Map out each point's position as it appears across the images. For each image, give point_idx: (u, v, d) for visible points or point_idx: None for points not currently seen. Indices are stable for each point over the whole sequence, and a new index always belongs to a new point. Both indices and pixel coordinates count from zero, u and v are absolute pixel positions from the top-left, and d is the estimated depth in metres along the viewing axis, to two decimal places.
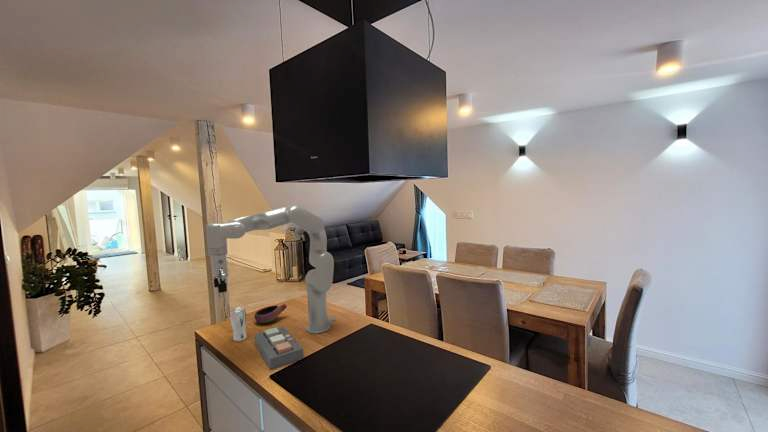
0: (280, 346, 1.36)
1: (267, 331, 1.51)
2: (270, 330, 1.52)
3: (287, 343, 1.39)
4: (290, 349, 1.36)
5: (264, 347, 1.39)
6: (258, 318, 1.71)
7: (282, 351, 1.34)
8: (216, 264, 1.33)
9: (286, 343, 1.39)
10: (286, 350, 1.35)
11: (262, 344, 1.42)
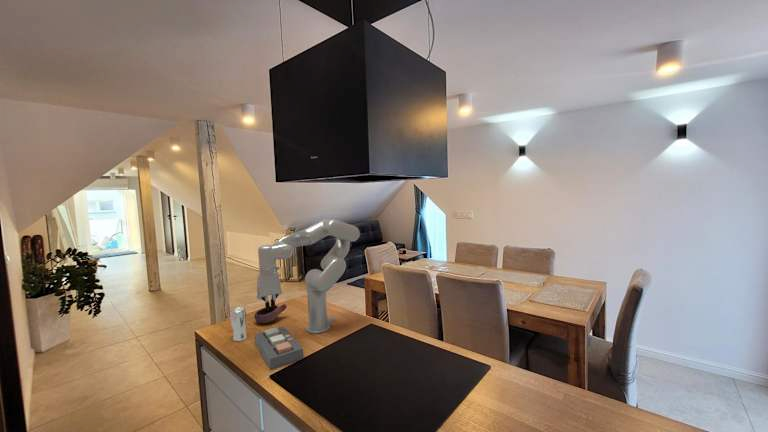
0: (280, 346, 1.36)
1: (267, 331, 1.51)
2: (270, 330, 1.52)
3: (287, 343, 1.39)
4: (290, 349, 1.36)
5: (264, 347, 1.39)
6: (258, 318, 1.71)
7: (282, 351, 1.34)
8: (279, 280, 1.51)
9: (286, 343, 1.39)
10: (286, 350, 1.35)
11: (262, 344, 1.42)
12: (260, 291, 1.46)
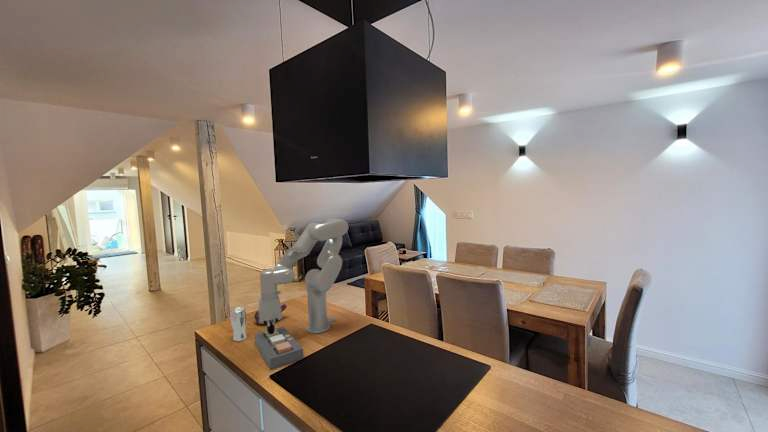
0: (280, 346, 1.36)
1: (267, 333, 1.51)
2: None
3: (287, 343, 1.39)
4: (290, 349, 1.36)
5: (264, 347, 1.39)
6: (258, 318, 1.71)
7: (282, 351, 1.34)
8: (280, 304, 1.52)
9: (286, 343, 1.39)
10: (286, 350, 1.35)
11: (262, 344, 1.42)
12: (261, 316, 1.47)
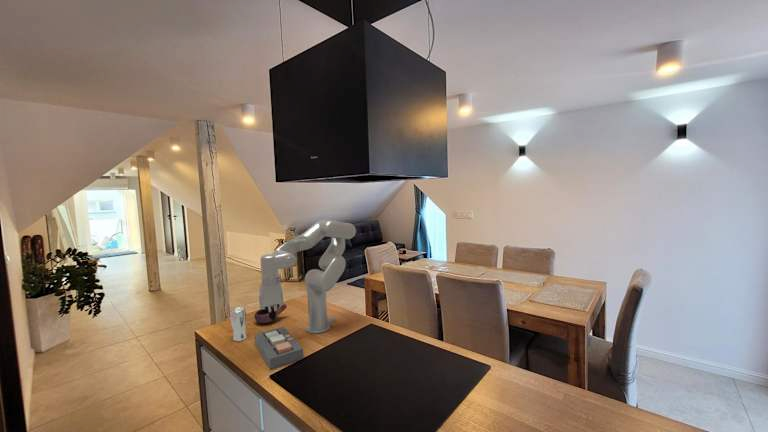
0: (280, 346, 1.36)
1: (267, 334, 1.52)
2: (270, 333, 1.52)
3: (287, 343, 1.39)
4: (290, 349, 1.36)
5: (264, 347, 1.39)
6: (258, 318, 1.71)
7: (282, 351, 1.34)
8: None
9: (286, 343, 1.39)
10: (286, 350, 1.35)
11: (262, 344, 1.42)
12: (262, 301, 1.43)
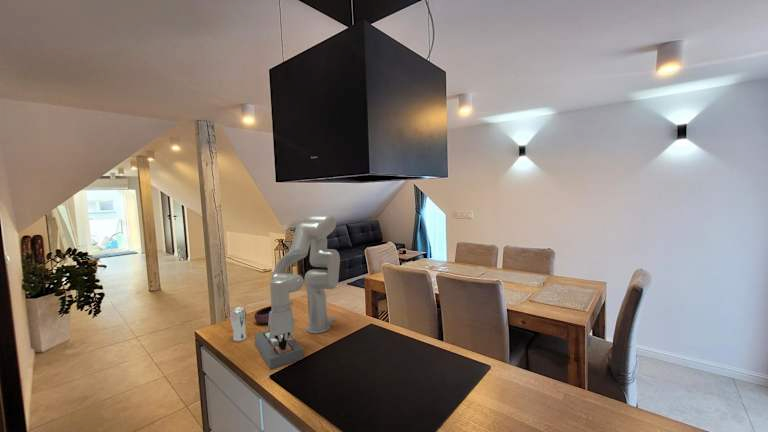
0: (280, 348, 1.37)
1: (267, 334, 1.52)
2: None
3: (287, 345, 1.39)
4: None
5: (264, 347, 1.39)
6: (258, 318, 1.71)
7: None
8: None
9: None
10: None
11: (262, 344, 1.42)
12: (272, 330, 1.32)
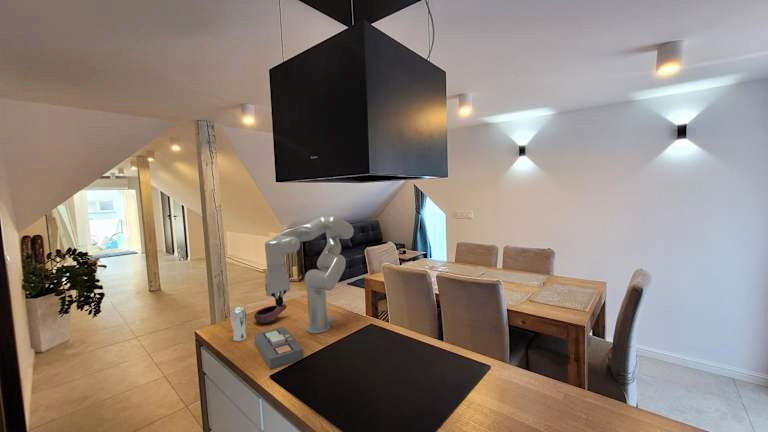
0: (280, 349, 1.37)
1: (267, 334, 1.52)
2: (270, 333, 1.52)
3: (287, 346, 1.39)
4: None
5: (264, 347, 1.39)
6: (258, 318, 1.71)
7: None
8: None
9: (286, 346, 1.39)
10: None
11: (262, 344, 1.42)
12: (269, 288, 1.39)
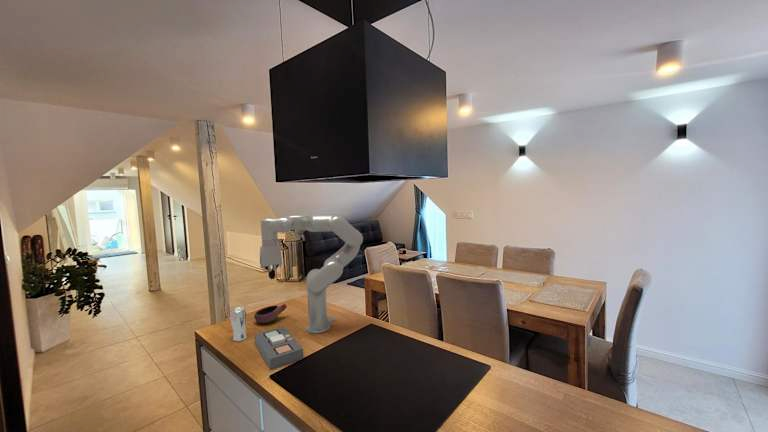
0: (280, 349, 1.37)
1: (267, 334, 1.52)
2: (270, 333, 1.52)
3: (287, 346, 1.39)
4: None
5: (264, 347, 1.39)
6: (258, 318, 1.71)
7: None
8: (280, 251, 1.60)
9: (286, 346, 1.39)
10: None
11: (262, 344, 1.42)
12: (262, 261, 1.54)
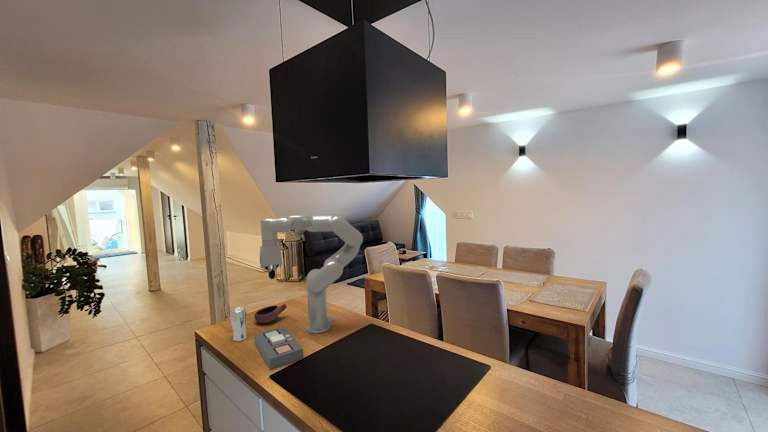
0: (280, 349, 1.37)
1: (267, 334, 1.52)
2: (270, 333, 1.52)
3: (287, 346, 1.39)
4: None
5: (264, 347, 1.39)
6: (258, 318, 1.71)
7: None
8: (280, 251, 1.60)
9: (286, 346, 1.39)
10: None
11: (262, 344, 1.42)
12: (262, 261, 1.54)
